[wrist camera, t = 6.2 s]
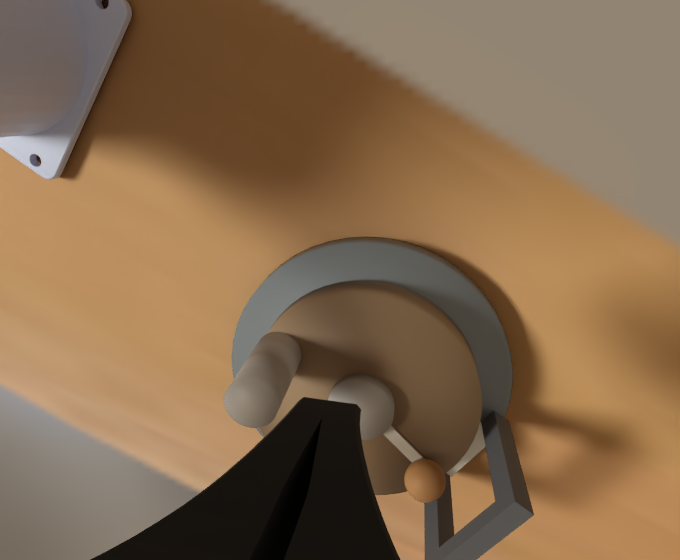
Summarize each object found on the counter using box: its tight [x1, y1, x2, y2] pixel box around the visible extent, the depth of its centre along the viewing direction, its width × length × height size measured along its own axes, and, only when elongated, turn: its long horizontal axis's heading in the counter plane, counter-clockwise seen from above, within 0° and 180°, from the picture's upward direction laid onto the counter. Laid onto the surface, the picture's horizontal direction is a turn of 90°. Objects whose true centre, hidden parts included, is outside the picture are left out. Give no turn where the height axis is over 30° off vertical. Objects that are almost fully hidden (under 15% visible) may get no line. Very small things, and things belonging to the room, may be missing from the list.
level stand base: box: [232, 237, 534, 560], centre depth 19 cm, size 12×12×6 cm
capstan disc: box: [224, 280, 482, 503], centre depth 18 cm, size 9×9×5 cm
